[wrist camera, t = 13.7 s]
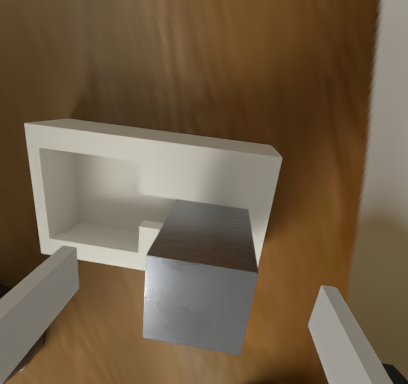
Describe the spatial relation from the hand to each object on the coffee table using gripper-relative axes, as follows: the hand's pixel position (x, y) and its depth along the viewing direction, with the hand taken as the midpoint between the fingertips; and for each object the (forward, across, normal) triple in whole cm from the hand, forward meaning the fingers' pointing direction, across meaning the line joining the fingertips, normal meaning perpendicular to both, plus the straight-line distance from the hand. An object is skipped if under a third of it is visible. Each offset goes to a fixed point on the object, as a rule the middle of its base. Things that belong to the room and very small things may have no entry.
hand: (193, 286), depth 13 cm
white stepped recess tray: (+14, -5, 0) cm, 14 cm away
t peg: (+12, 0, 0) cm, 12 cm away
